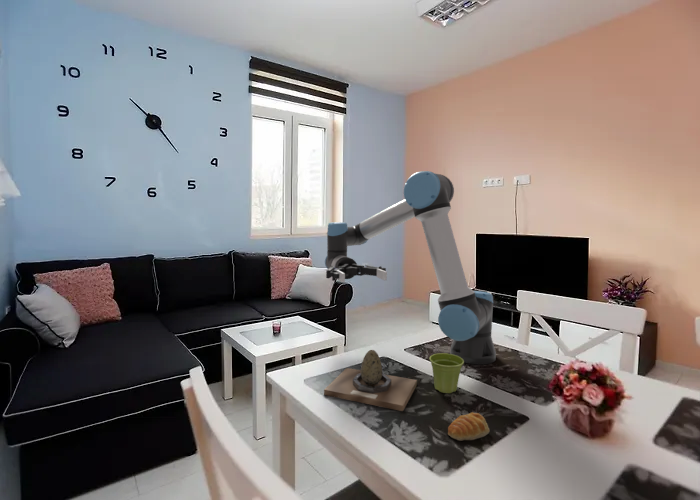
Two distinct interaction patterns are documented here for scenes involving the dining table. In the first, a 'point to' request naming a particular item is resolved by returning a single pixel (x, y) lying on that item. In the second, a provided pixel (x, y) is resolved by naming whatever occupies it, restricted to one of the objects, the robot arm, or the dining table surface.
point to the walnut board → (390, 399)
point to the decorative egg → (371, 368)
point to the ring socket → (372, 388)
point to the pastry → (468, 427)
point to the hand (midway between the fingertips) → (365, 277)
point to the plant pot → (446, 371)
